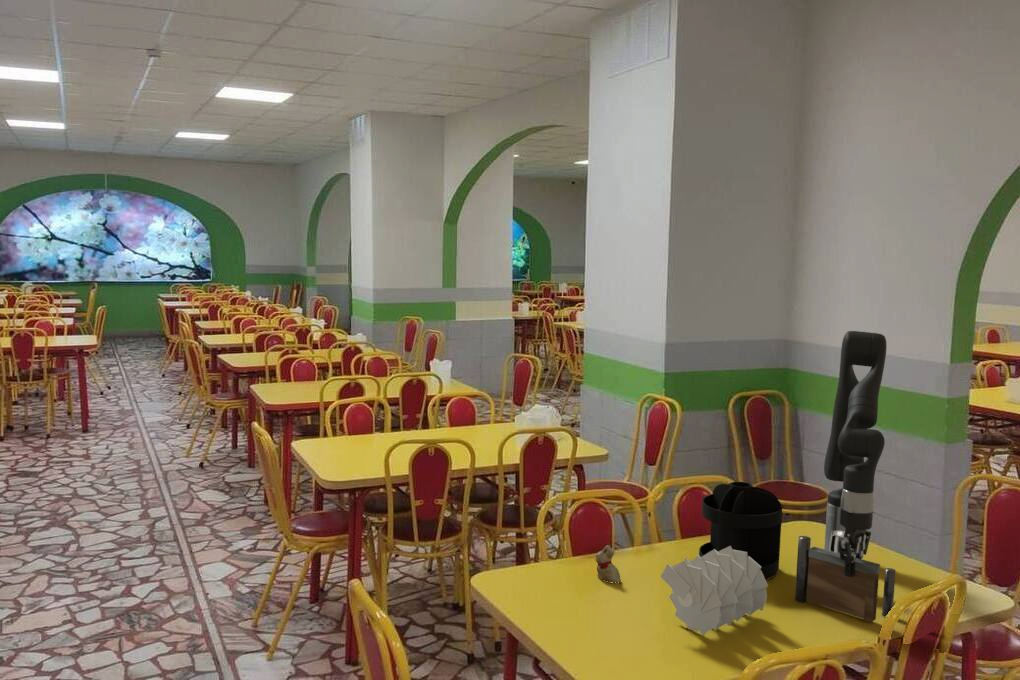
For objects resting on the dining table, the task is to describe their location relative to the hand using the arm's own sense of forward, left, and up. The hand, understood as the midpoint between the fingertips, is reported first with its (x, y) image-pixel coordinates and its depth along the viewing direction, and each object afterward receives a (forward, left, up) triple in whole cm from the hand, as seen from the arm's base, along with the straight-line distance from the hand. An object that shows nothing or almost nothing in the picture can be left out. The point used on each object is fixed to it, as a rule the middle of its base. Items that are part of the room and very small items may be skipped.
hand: (852, 574), depth 214 cm
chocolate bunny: (+4, -62, -11) cm, 63 cm away
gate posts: (-5, -2, -11) cm, 12 cm away
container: (-21, -31, -11) cm, 39 cm away
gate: (-1, -2, -10) cm, 10 cm away
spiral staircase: (+19, -30, -11) cm, 37 cm away
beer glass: (-20, -3, -11) cm, 23 cm away
